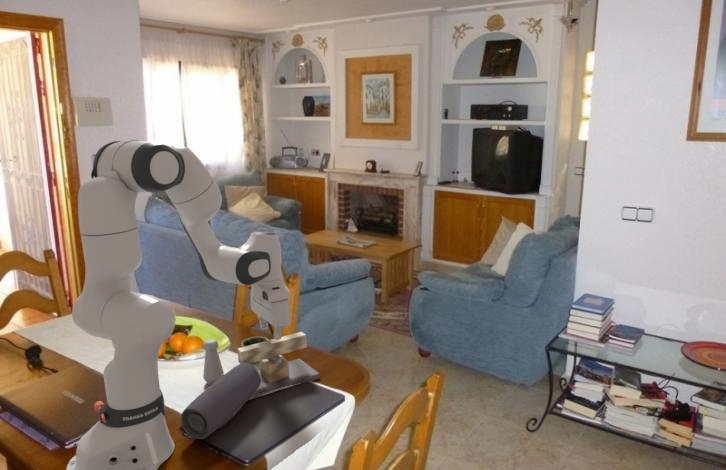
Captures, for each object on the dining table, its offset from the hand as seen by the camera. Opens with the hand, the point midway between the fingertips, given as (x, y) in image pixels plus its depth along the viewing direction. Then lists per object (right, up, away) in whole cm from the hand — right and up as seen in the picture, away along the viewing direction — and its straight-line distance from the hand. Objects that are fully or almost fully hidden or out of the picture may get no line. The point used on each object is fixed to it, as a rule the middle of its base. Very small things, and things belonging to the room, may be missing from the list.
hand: (270, 333), depth 156 cm
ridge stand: (+1, -14, +3) cm, 14 cm away
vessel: (-7, -12, +17) cm, 22 cm away
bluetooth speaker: (-8, -18, -17) cm, 26 cm away
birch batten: (+1, -6, +2) cm, 6 cm away
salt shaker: (-17, -15, +3) cm, 23 cm away
